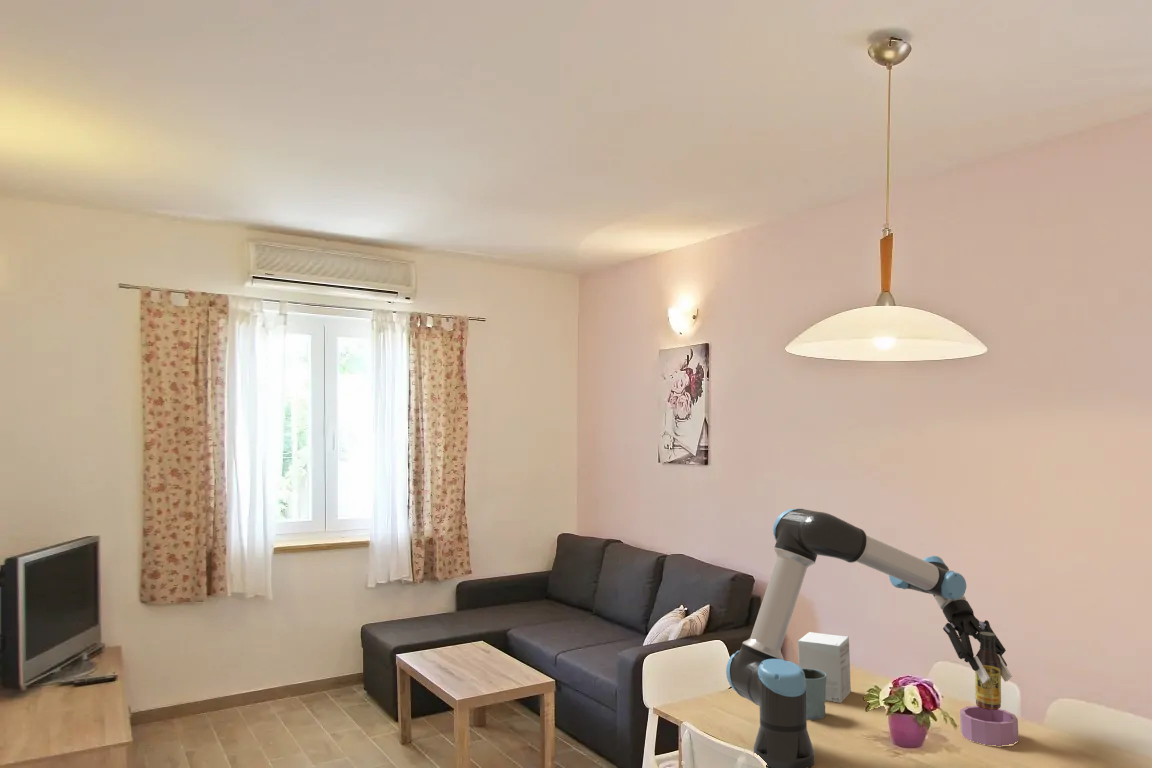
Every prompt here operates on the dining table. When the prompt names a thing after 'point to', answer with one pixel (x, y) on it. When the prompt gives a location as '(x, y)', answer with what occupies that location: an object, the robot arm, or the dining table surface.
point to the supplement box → (828, 661)
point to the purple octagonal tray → (989, 726)
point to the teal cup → (815, 693)
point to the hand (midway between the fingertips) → (997, 679)
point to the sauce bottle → (991, 690)
